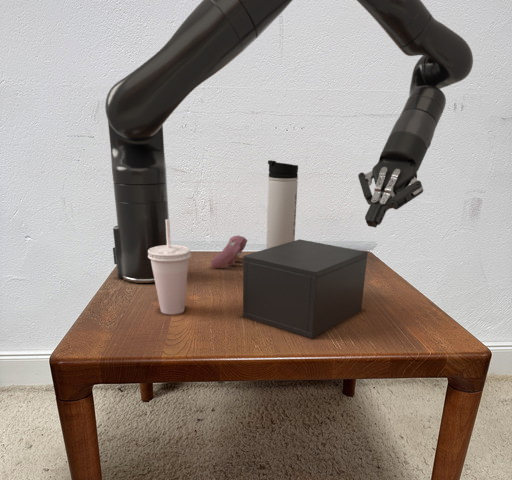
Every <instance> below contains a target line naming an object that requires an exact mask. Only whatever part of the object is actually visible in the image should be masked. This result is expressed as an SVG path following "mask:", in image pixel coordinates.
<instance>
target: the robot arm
mask: <svg viewBox="0 0 512 480" xmlns="http://www.w3.org/2000/svg"><path fill="white" fill-rule="evenodd" d="M293 1H294V0H202V1H201V2H200V3H199V4H198V5H197V6H196V7H195V8H194V9H193V11H191V13H190V14H188V15H187V17H186V18H185V20H184V21H183V22H182V23H181V24H180V26H179V27H178V28H177V30H175V31H174V33H173V35H172V36H171V37H170V38H169V39H168V41H167V42H166V43H165V44H164V45H163V46H162V47H161V48H160V49H159V50H158V51H157V52H156V53H155V54H154V55H152V56H151V57H150V58H149V59H147V60H146V61H145V62H144V63H142V64H140V66H138V67H137V68H136V69H134V70H133V71H132V72H130V73H129V74H128V75H126V76H125V77H123V78H122V79H120V80H119V81H117V82H115V84H113V85H112V86H111V88H110V89H109V91H108V93H107V94H106V98H105V102H104V103H105V104H104V105H105V106H104V108H105V115H106V119H107V125H108V126H107V128H108V137H109V147H110V159H111V173H112V182H113V183H112V184H113V193H114V194H113V195H114V201H115V202H114V203H115V212H116V224H117V225H115V226H113V227H112V232H113V242H114V247H112V253H113V262H114V265H116V270H117V278H118V279H123V280H124V281H126V282H130V283H136V284H137V283H138V284H151V283H155V279H154V274H153V270H152V264H151V259H149V258H148V250H149V249H150V248H152V247H156V246H162V245H167V238H166V221H165V220H166V219H169V220H170V216H169V214H170V213H169V200H168V199H169V198H168V197H169V195H168V183H167V182H168V180H167V179H168V178H167V164H166V155H165V141H164V139H165V138H164V123H165V122H166V121H167V120H168V119H169V117H170V116H171V115H172V114H173V113H174V112H175V110H176V109H177V108H178V107H179V106H180V105H181V104H182V102H184V100H185V99H186V98H187V97H188V96H189V95H190V94H191V93H192V92H193V91H194V90H195V89H197V87H199V86H200V85H201V84H203V83H204V82H205V81H207V80H208V79H210V78H211V77H213V76H214V75H216V74H217V73H218V72H220V71H221V70H223V69H224V68H225V67H227V66H228V65H229V64H230V63H231V62H232V61H234V60H235V59H236V58H238V56H240V55H241V54H242V53H243V52H245V50H246V49H247V48H248V47H249V46H250V45H252V44H253V43H254V42H255V41H256V40H257V39H258V38H259V37H260V36H261V35H262V33H264V32H265V31H266V30H267V29H268V28H269V27H270V26H271V24H272V23H274V21H275V20H276V19H278V17H279V16H280V15H281V14H282V13H283V12H284V11H285V10H286V9H287V8H288V6H289V5H290V4H291V3H292V2H293ZM356 2H357V3H359V4H360V6H361V7H362V8H363V9H365V11H366V12H367V13H368V14H369V15H370V16H371V17H372V19H374V20H375V21H376V23H377V24H378V25H379V26H380V28H381V29H382V30H383V31H384V32H385V33H386V34H387V37H389V38H390V40H391V41H392V42H393V43H394V45H395V46H397V47H398V49H399V50H400V51H401V53H403V54H404V55H405V56H408V57H417V56H420V58H419V59H418V60H417V61H416V63H415V64H414V67H413V70H412V74H411V80H410V84H409V93H408V98H407V99H406V102H405V104H404V105H403V106H404V107H403V108H402V111H401V113H400V115H399V116H398V118H397V120H396V121H395V123H394V125H393V127H392V129H391V131H390V133H389V135H388V137H387V139H386V142H385V144H384V145H383V146H384V147H383V148H382V150H381V153H380V155H379V158H378V162H377V163H376V164H375V165H374V166H373V167H372V169H371V171H369V172H366V173H364V172H359V174H358V175H357V177H358V181H359V185H360V187H361V190H362V194H363V197H364V199H365V200H366V203H367V204H368V205H369V207H368V210H367V211H366V214H365V216H364V220H365V223H366V225H367V226H368V227H371V228H377V227H378V226H380V225H381V224H382V222H383V219H384V218H385V216H386V214H387V212H388V211H389V210H390V209H391V210H392V209H393V210H399V209H400V208H402V207H403V206H405V205H406V204H408V203H410V202H411V201H413V200H414V199H415V198H417V197H418V196H420V195H421V194H423V192H424V187H423V184H422V182H421V180H418V171H419V170H420V167H421V166H422V163H423V160H424V159H425V156H426V154H427V152H428V150H429V148H430V146H431V144H432V141H433V138H434V135H435V132H436V129H437V126H438V124H439V123H440V120H441V117H442V115H443V113H444V110H445V109H446V108H445V107H446V104H447V99H446V94H445V93H444V92H443V91H442V89H443V88H447V87H449V86H451V85H454V84H457V83H460V82H462V81H463V80H465V79H466V78H467V77H468V76H469V75H470V73H471V71H472V69H473V65H474V56H473V52H472V49H471V47H470V45H469V44H468V42H467V41H466V40H465V39H464V38H463V37H462V36H460V34H458V33H457V32H455V31H454V30H452V29H451V28H449V27H448V26H446V25H445V24H444V23H442V22H440V21H438V20H437V19H436V18H435V17H434V16H433V15H432V14H431V12H430V11H429V9H428V7H426V5H425V4H424V3H423V1H422V0H356ZM373 182H374V185H375V186H374V190H373V191H374V192H372V190H371V187H370V186H372V183H373Z"/></svg>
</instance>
